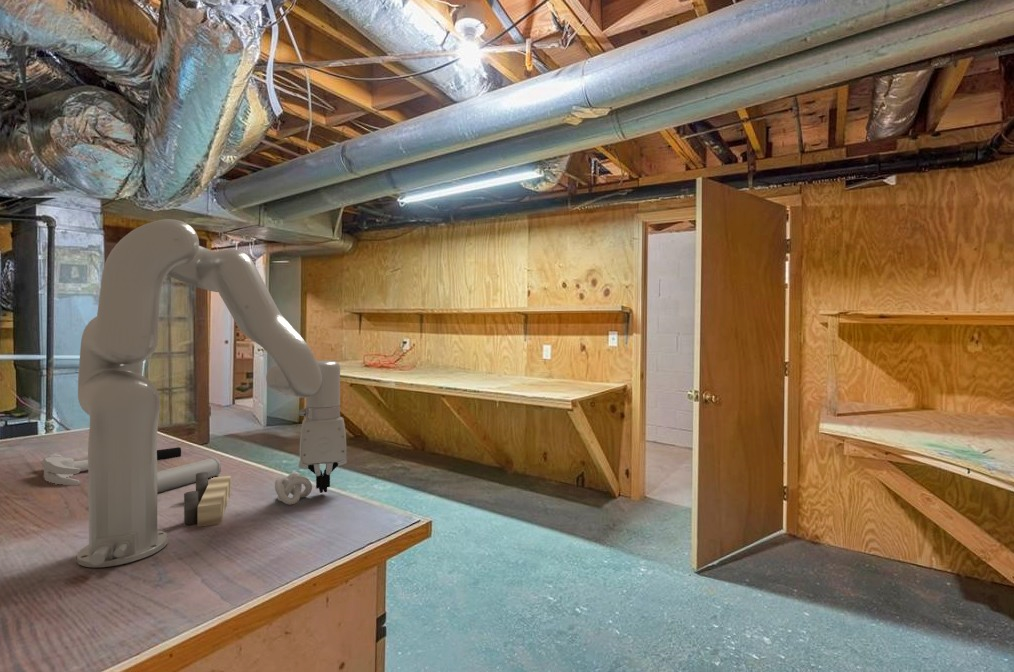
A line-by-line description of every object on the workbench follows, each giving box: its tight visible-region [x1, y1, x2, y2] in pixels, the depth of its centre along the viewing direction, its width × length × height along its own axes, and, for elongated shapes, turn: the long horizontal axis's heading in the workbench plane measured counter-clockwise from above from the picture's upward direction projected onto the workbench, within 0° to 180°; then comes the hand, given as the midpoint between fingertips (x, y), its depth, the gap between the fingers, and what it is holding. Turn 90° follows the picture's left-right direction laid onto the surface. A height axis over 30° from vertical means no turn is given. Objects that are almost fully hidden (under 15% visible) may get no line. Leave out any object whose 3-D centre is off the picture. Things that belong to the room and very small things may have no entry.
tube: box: [157, 456, 222, 494], centre depth 118 cm, size 5×5×25 cm
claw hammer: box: [41, 446, 182, 486], centre depth 135 cm, size 6×22×30 cm
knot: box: [274, 471, 313, 506], centre depth 111 cm, size 8×8×6 cm
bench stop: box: [183, 472, 232, 528], centre depth 106 cm, size 20×7×6 cm, turn 25°
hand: (323, 490), depth 114 cm, fingers closed
